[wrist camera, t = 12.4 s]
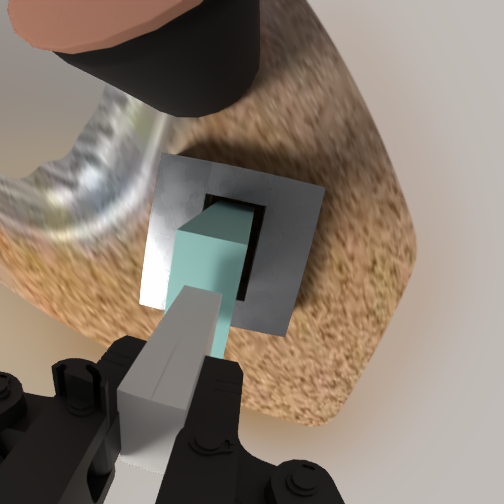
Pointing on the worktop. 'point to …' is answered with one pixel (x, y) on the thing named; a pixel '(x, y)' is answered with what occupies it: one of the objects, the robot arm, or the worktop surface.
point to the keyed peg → (212, 259)
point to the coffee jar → (152, 46)
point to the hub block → (267, 245)
